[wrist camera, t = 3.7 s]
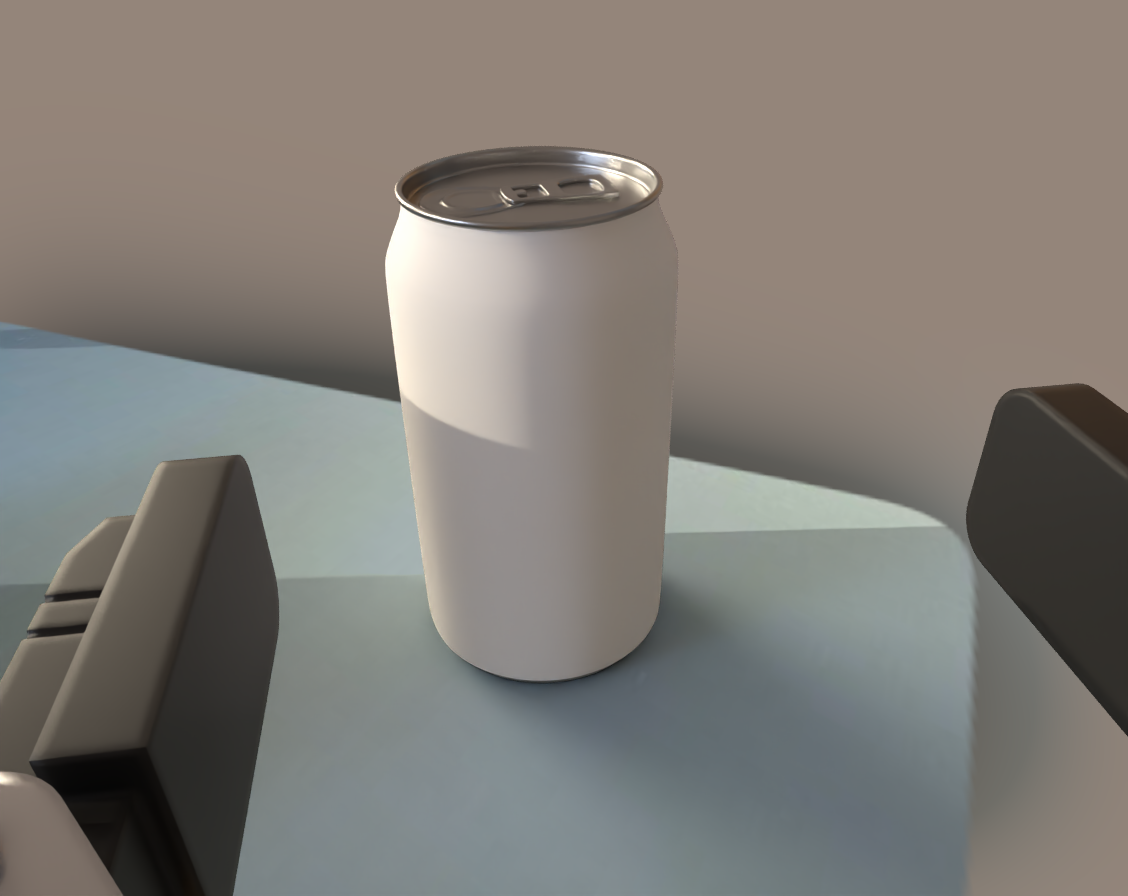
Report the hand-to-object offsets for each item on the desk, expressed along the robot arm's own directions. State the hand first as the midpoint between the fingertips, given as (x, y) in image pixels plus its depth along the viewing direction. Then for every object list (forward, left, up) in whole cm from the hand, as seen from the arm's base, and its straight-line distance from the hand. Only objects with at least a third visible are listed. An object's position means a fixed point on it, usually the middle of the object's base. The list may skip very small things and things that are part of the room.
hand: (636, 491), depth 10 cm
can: (+4, -11, -12) cm, 16 cm away
